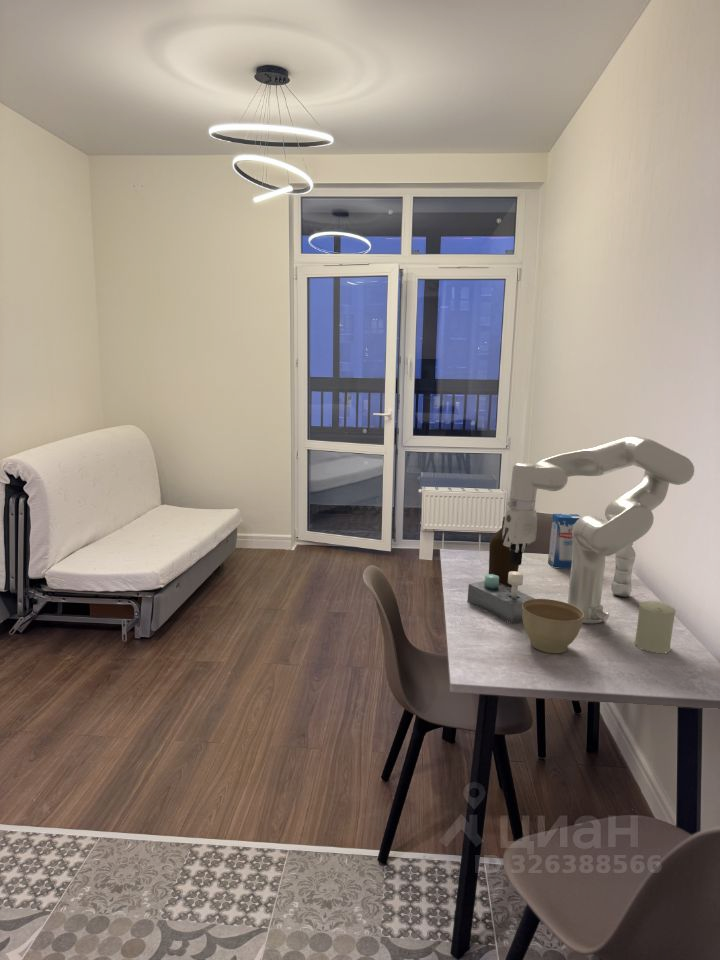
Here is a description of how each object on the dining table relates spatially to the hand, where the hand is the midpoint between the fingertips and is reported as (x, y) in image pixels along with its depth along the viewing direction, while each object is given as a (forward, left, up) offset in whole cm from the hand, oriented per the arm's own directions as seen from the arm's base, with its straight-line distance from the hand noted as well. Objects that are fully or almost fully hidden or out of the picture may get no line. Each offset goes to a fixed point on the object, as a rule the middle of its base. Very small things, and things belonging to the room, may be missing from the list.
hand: (515, 563), depth 194 cm
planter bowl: (-21, +7, -17) cm, 28 cm away
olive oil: (+20, -15, -17) cm, 30 cm away
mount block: (+5, 0, -17) cm, 17 cm away
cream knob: (0, 0, -13) cm, 13 cm away
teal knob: (+10, 0, -17) cm, 19 cm away
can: (-34, -20, -17) cm, 43 cm away
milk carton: (+29, -56, -17) cm, 66 cm away
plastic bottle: (-3, -48, -17) cm, 51 cm away
